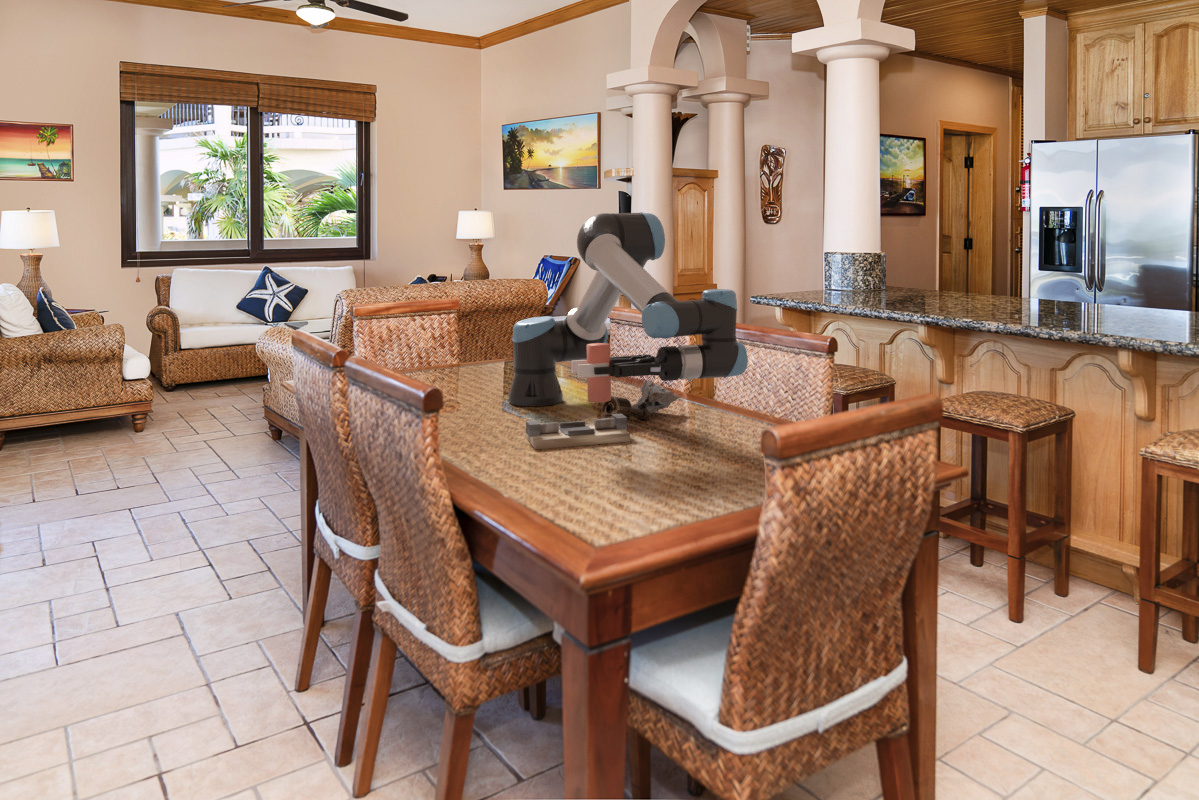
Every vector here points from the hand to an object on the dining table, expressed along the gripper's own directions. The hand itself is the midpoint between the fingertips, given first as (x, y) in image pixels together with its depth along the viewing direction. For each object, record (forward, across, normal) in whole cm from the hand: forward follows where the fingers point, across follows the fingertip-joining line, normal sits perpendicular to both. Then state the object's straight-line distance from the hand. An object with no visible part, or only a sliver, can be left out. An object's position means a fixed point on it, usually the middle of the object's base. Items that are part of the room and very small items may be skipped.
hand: (575, 369), depth 192 cm
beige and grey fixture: (-3, +13, -19) cm, 23 cm away
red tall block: (-5, 0, -7) cm, 9 cm away
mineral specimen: (-29, +34, -18) cm, 48 cm away
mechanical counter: (-20, +26, -19) cm, 38 cm away
